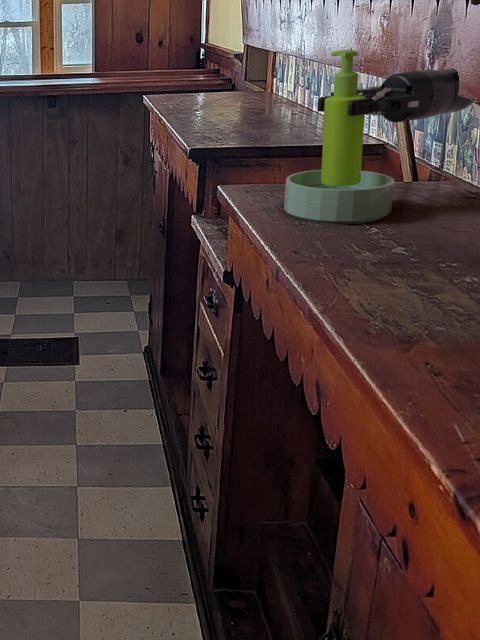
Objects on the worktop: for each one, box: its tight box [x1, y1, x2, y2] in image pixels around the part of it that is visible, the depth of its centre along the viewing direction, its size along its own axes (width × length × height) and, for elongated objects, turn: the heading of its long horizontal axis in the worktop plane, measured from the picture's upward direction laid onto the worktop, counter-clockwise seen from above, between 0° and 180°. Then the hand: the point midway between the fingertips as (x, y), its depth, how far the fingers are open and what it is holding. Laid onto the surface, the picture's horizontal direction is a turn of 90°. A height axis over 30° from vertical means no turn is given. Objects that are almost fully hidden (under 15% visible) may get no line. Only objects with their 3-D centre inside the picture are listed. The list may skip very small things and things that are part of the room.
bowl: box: [283, 169, 396, 225], centre depth 140 cm, size 16×16×6 cm
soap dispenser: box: [321, 49, 366, 186], centre depth 135 cm, size 6×7×20 cm
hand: (334, 106), depth 133 cm, fingers closed on soap dispenser, 6 cm apart
